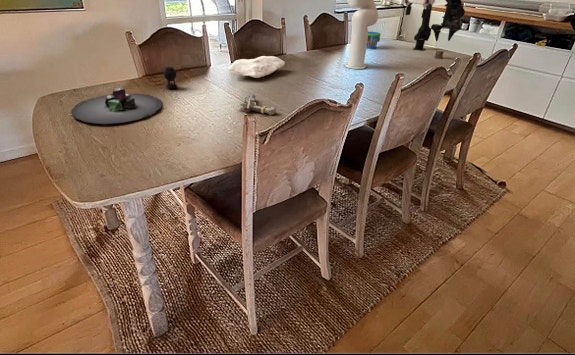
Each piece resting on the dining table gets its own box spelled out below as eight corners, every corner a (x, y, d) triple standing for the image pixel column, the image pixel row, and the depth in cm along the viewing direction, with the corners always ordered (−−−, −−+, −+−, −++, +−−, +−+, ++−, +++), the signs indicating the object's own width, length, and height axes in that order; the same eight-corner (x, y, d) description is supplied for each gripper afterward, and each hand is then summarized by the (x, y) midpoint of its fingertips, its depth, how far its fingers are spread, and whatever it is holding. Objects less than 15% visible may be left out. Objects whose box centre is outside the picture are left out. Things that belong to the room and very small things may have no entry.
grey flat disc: (174, 113, 149) (170, 91, 144) (79, 131, 131) (72, 107, 127) (148, 93, 173) (144, 73, 169) (65, 106, 156) (59, 85, 151)
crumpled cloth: (215, 70, 197) (215, 54, 191) (268, 61, 215) (270, 45, 209) (238, 89, 184) (239, 72, 178) (292, 77, 202) (294, 61, 196)
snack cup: (373, 45, 269) (375, 30, 263) (383, 48, 262) (386, 33, 256) (357, 47, 261) (359, 32, 256) (367, 50, 254) (370, 35, 249)
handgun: (275, 94, 165) (242, 93, 164) (275, 109, 150) (239, 108, 149) (275, 100, 167) (242, 99, 166) (275, 115, 152) (239, 114, 151)
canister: (433, 57, 245) (435, 50, 242) (438, 56, 247) (439, 49, 244) (438, 59, 242) (440, 51, 239) (443, 58, 243) (445, 51, 241)
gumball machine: (165, 90, 172) (162, 69, 166) (163, 86, 176) (159, 65, 171) (180, 88, 175) (177, 67, 169) (177, 85, 179) (174, 64, 174)
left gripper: (443, -21, 172) (434, 18, 181) (413, -24, 183) (406, 13, 192) (434, -21, 168) (425, 19, 177) (404, -24, 179) (397, 14, 188)
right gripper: (444, 17, 221) (437, 44, 230) (470, 17, 226) (462, 43, 234) (433, 14, 230) (427, 40, 239) (458, 14, 235) (451, 39, 243)
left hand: (415, 16), depth 184 cm, fingers open, 9 cm apart
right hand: (442, 41), depth 238 cm, fingers open, 9 cm apart
